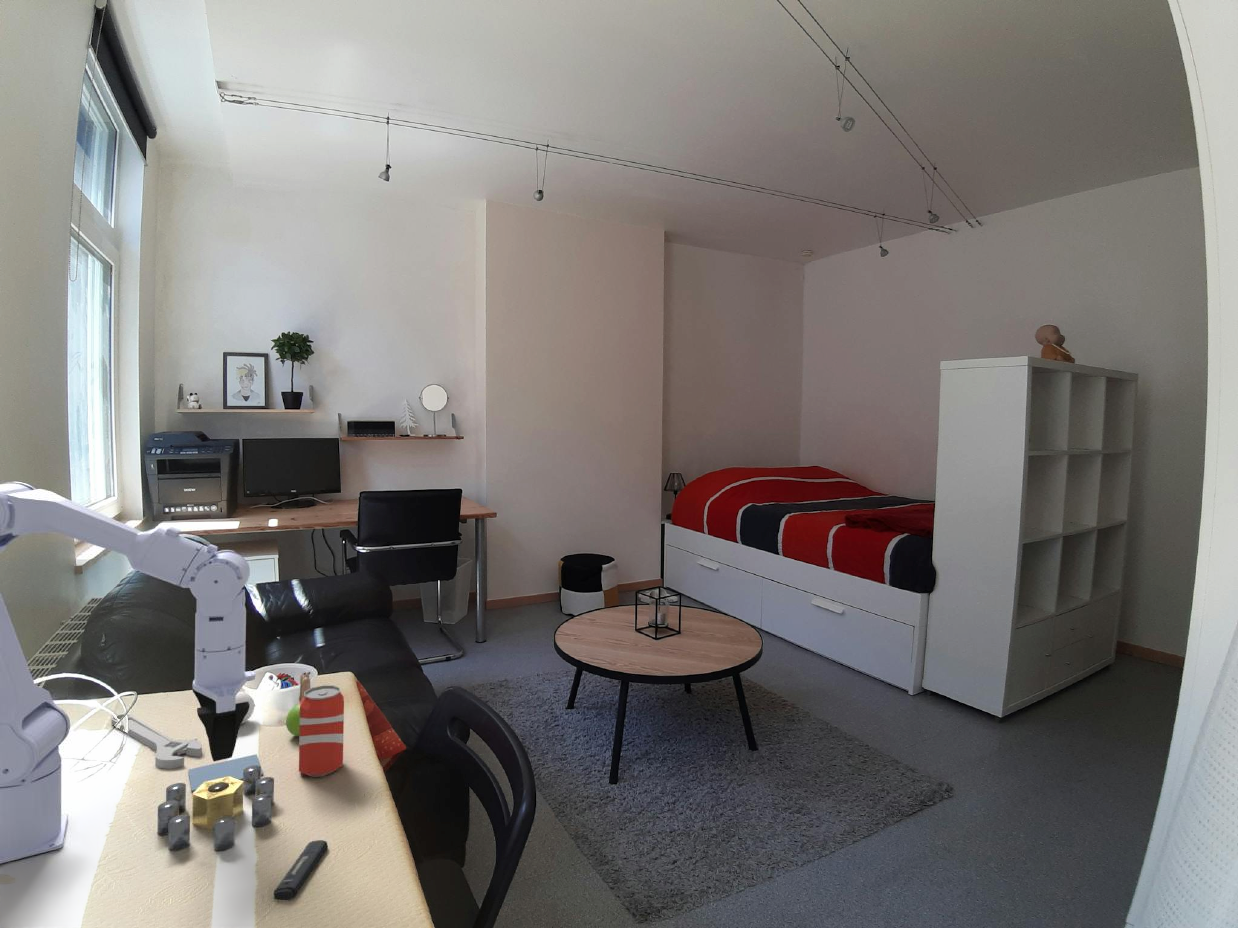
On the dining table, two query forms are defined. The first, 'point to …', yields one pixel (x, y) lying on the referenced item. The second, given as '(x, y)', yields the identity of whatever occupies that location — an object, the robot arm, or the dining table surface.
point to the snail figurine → (297, 706)
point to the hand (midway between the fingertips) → (219, 746)
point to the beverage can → (321, 730)
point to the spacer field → (223, 825)
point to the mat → (221, 770)
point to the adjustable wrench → (161, 743)
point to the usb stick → (300, 870)
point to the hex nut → (217, 801)
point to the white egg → (245, 697)
